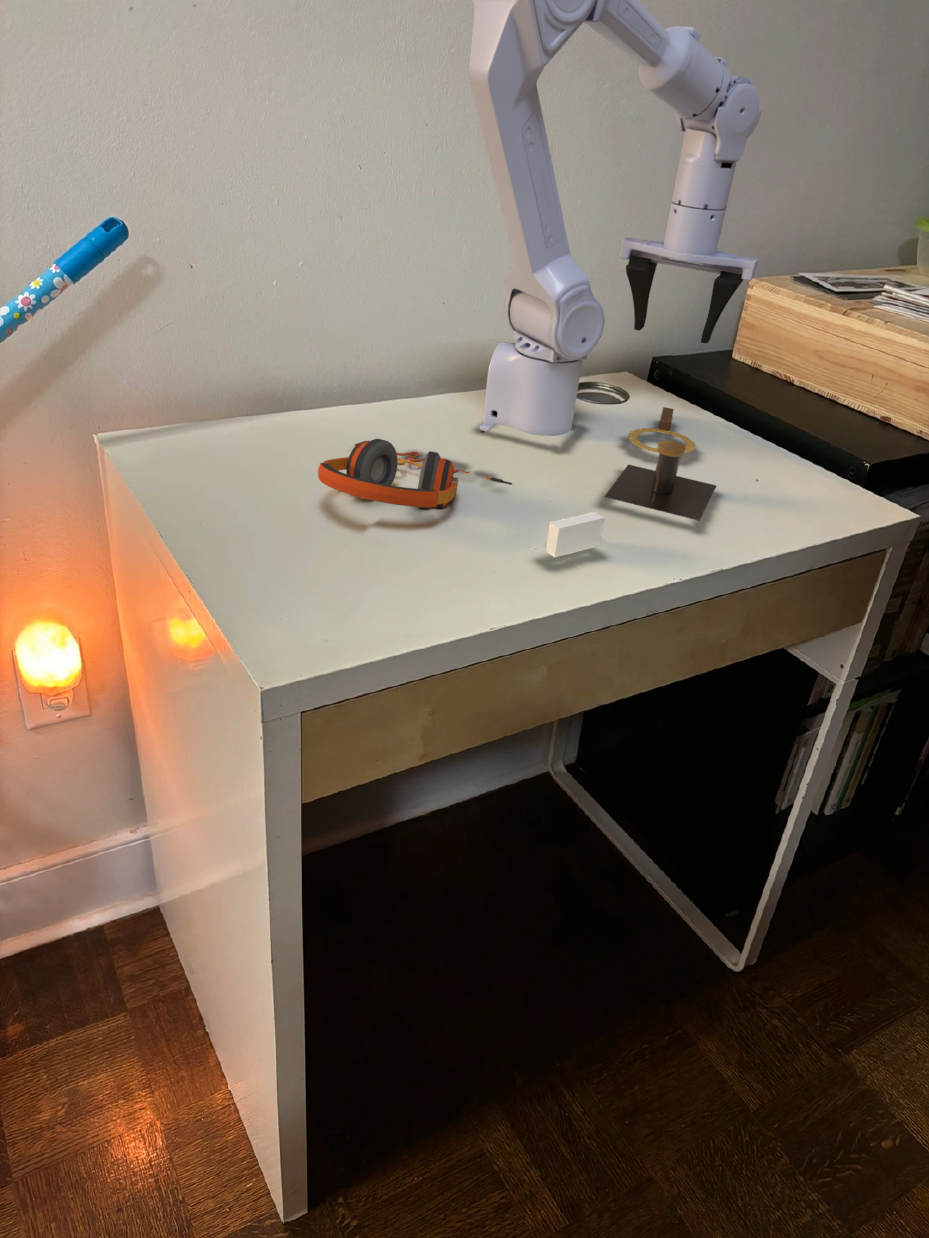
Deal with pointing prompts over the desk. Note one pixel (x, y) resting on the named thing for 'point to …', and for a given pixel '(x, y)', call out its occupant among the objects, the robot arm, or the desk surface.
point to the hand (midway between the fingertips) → (671, 334)
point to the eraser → (574, 534)
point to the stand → (663, 486)
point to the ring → (663, 428)
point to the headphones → (391, 476)
